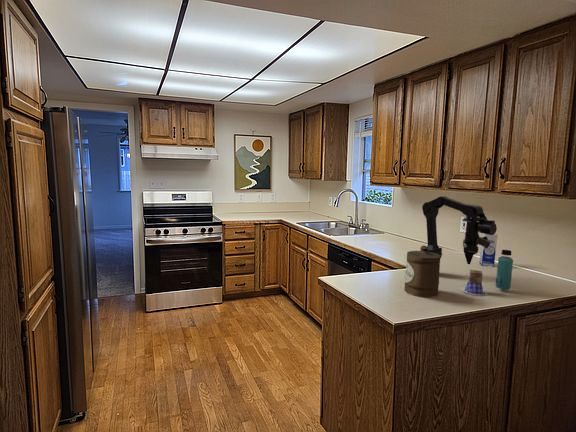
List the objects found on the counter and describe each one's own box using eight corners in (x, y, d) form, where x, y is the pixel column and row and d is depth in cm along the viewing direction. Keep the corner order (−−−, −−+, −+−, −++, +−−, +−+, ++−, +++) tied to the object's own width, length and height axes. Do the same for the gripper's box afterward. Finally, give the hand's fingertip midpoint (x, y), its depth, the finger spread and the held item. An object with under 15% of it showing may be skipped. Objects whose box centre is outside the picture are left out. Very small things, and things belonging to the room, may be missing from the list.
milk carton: (481, 265, 224) (484, 233, 222) (479, 263, 231) (482, 231, 228) (494, 267, 222) (497, 234, 220) (491, 264, 229) (495, 232, 226)
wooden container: (405, 285, 182) (408, 241, 179) (437, 289, 177) (441, 244, 174) (403, 294, 168) (406, 247, 166) (438, 299, 163) (442, 250, 160)
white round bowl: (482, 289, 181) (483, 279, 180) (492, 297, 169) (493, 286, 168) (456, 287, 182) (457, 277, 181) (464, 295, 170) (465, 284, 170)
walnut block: (469, 282, 174) (470, 272, 173) (468, 279, 178) (469, 269, 178) (481, 284, 172) (482, 273, 171) (480, 281, 176) (481, 270, 176)
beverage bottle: (512, 290, 178) (516, 250, 175) (507, 293, 173) (512, 252, 171) (497, 287, 183) (501, 248, 180) (492, 290, 178) (497, 249, 175)
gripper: (492, 236, 169) (488, 269, 172) (489, 230, 186) (485, 260, 189) (465, 233, 174) (461, 265, 176) (464, 227, 191) (461, 256, 193)
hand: (468, 261), depth 183 cm, fingers open, 9 cm apart
